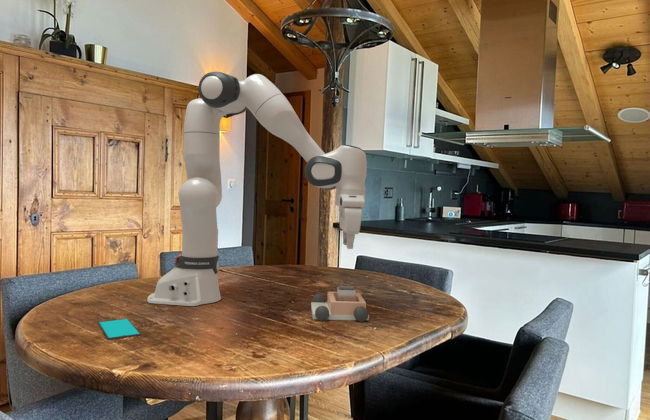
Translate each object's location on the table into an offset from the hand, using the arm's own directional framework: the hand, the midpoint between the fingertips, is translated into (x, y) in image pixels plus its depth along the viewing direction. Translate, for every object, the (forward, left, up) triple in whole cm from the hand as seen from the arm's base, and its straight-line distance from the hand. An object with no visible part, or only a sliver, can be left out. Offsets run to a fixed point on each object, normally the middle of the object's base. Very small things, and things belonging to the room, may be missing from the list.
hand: (347, 246), depth 138 cm
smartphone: (-59, -20, -21) cm, 65 cm away
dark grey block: (0, 0, -19) cm, 19 cm away
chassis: (-2, 0, -20) cm, 20 cm away
